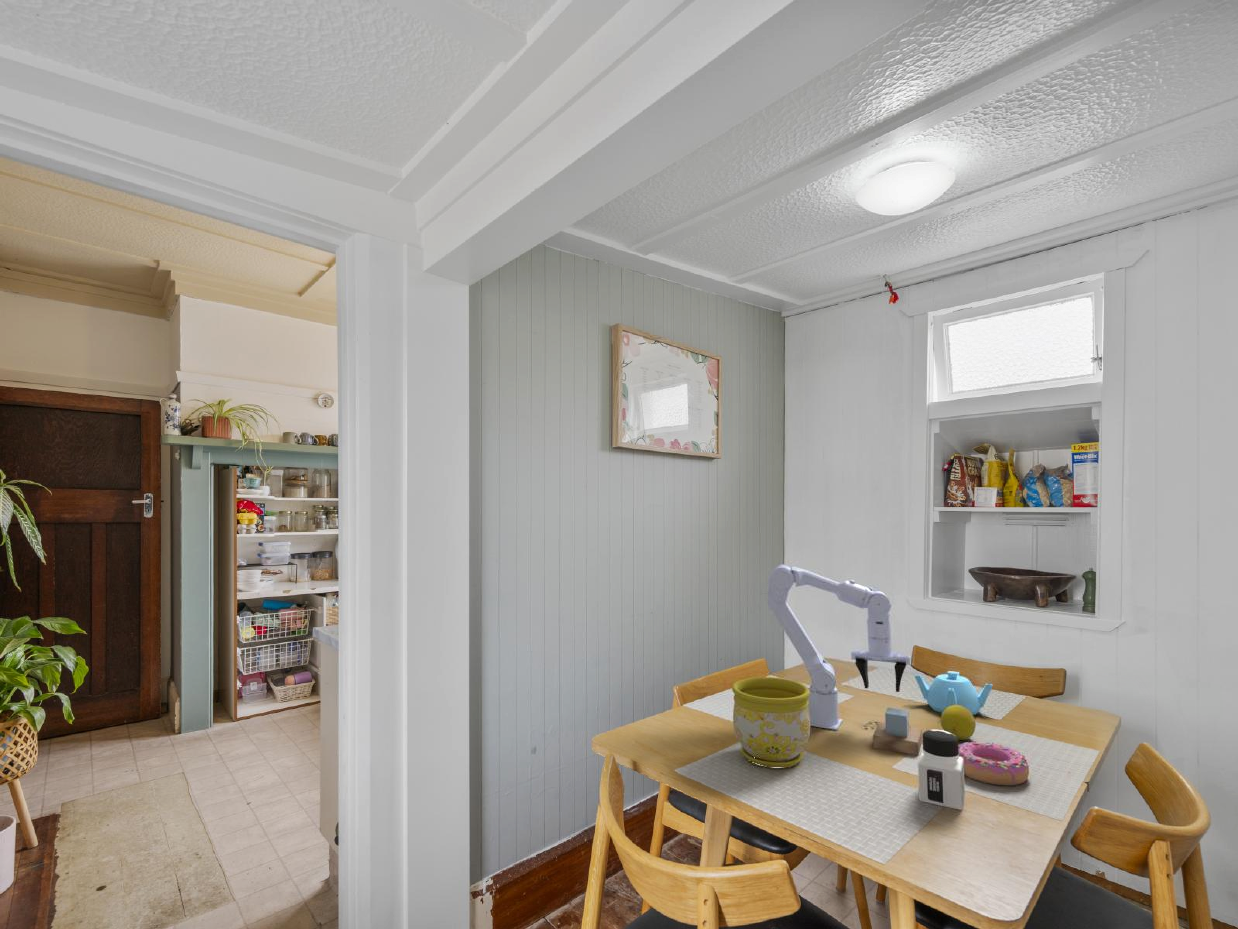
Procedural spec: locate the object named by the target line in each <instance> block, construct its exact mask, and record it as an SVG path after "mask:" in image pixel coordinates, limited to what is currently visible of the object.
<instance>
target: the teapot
mask: <svg viewBox="0 0 1238 929" xmlns="http://www.w3.org/2000/svg"><path fill="white" fill-rule="evenodd" d="M914 678H915V680H916V683H917V685H918V687H919V690H920V692H921V695H922V697H923V698H924V700H926V702H927V704H928V705H929V707H930V708H931V709H932V710H933V711H935V712H937V713H939V712H940V714H942V713H943V711H944V710H945V709H946V708H947V707H949V706H952V705H960V706H963V707H965V708H966V709H968V710H969V711H970V712H971V714H972V715H974V716H976V715H977V714H978V713H979V712H980V711H981V709H982V708H984V706H985V704H986V701H987V699H988V697H989V695H990V693H991V691H992V688H993V684H992V683H985V685H984V687H983V688H982V690H981V691H980V692H979V693H978V691H977V689H976V688H975V687H974V685H973V684H972V682H971V681H970V680H969V678H967V677H965V676H961V675H960V671H953V670H948V671H946V673H945V674H939V675H937V676H936V677H934V679H933V680H932V682H931V684H930V685H929V686H928V684H927V682H926V681H925V679H924V678H923V676H922V675H920V674H915V675H914Z"/></svg>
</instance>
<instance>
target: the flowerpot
mask: <svg viewBox="0 0 1238 929" xmlns="http://www.w3.org/2000/svg"><path fill="white" fill-rule="evenodd" d="M809 688H810V687H808V686H806V685H805V684H803V683H801V682H798V681H796V680H791V679H789V678H788V679H787V678H782V677H781V678H780V677H771V676H756V677H755V676H754V677H746V678H743V679H739V680H737V681H735V682H734V683H733V684H732V686H731V691H732V693H733V694H734V695H733V701H734V703H733V710H732V711H733V714H732V721H733V722H732V724H733V729H734V730H733V731H734V734H735V736H736V739H737V740H738V742H739V743H740V746H741V748H740V752H741V754H742V755H743V756H745V759H746V758H747V759H748V760H750V761H752V762H754V763H757V764H760V765H763V766H766V767H789V768H792V767H791V766H793V767H795V766H796V765H798V764H799V762H800V761H801V760H802V759H803V758H804V753H803V750H804V749H805V747H806V746H807V745H808V741H809V739H810V734H811V726H810V715H809V709H808V705H809V701H808V698H809V696H810V690H809ZM754 757H755V758H754ZM747 759H746V760H747ZM748 760H747V761H748ZM797 763H798V764H797ZM794 765H795V766H794Z"/></svg>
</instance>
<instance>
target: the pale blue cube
mask: <svg viewBox="0 0 1238 929" xmlns="http://www.w3.org/2000/svg"><path fill="white" fill-rule="evenodd" d="M909 717H910V716H909V710H907V709H900V708H893V707H887V708H886V710H885V717H884V718H885V722H884V723H886V734H889V735H895V736H901V737H907V736H908V733H909V727H910V722H909V720H910V718H909Z"/></svg>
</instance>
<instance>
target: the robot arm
mask: <svg viewBox="0 0 1238 929" xmlns="http://www.w3.org/2000/svg"><path fill="white" fill-rule="evenodd" d="M794 584H795V587H796V588H797V587H801V586H805V585H807V586H809V587H814V588H817V589H819V590H821V591H822V590H823V591H826V592H829V593H832V594H835V596H836V597H837V599H838V600H839V601H841V602H844V603H846V604H850V606H851V605H852V606H853V607H854V606H855V607H857V608H860V609H862V610H863V609H867V619H866V620H867V621H866V623H867V645H868V650H852V651H851V652H850V656H851V660H854V661H855V666H856V668H857V670H858V672H859V673H860V676H861V678H862V681H863V685H864V689H869V687H870V686H869V683H870V682H869V674H868V673H869V672H868V664H869V661H872V662H881V663H883V662H884V663H885V662H886V663H892V664H894V674H895V693H900V691H901V681H902V678H903V675H904V672H905V669H906V667H907V666H911V664H912V659H911V655H906V654H898V653H893V650H892V647H893V646H892V632H891V630H892V629H891V628H892V627H891V620H890V616H891V615H890V611H891V608H892V604H891V603H890V600H889V598H888V596H887V595H886V593H884V592H882V591H881V590H880V589H874V588H873V587H871V586H869V587H867V586H864V585H860V584H858V583H856V581H855V580H853V579H850V580H843V581H841V582H838V581H835V580H833V579H831V578H828V577H825V576H823V575H819V574H817V573H815V572H813V571H810V570H807V569H804V568H801V567H797V566H792V567H791V566H790V565H788V564H786V563H785V564H784V563H782V564H781V563H780V564H779V565H777V566H775V567H774V569H773V570H772V572H771V573H770V576H769V579H768V581H767V605H768V607H769V609H770V610H771V612H772V613H773V615H774V617H775V618H776V620H777V621H778V623H779V624H780V626H781V628H782V630H783V631H784V632H785V634H786V636H787V638H788V639H789V641H790V642H791V643H792V645H793V647H794V649H795V650H796V652H797V654H798V655H799V656H800V658H801V659H802V661H803V663H804V665H805V668H806V670H807V673H808V674H809V676H810V682H811V685H809V687H808V688H809V690H810V696H809V698H808V701H809V705H808V709H809V715H810V727H816V728H821V729H822V728H823V729H828V730H835V731H837V730H838V729H839V728H840V726H841V724H842V723H843V718H839V694H838V692H839V691H838V688H837V687H836V684H837V679H836V671H835V667H834V666H833V665H832V664H831V663H829V662H828V661H827V660H825V657H824V656H823V655H822V654H821V653H820V652H819V650H818V649H817V647H815V645H814V643H813V642H812V640H811V639H810V637H809V635H808V633H807V632H806V631H805V629H804V627H803V626H802V624H801V623H800V621H799V620H798V617H796V615H795V613H794V611H793V610H792V608H791V607H790V605H789V604H788V602H787V599H788V595H789V591H790V590H791V589H792V586H793V585H794Z"/></svg>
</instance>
